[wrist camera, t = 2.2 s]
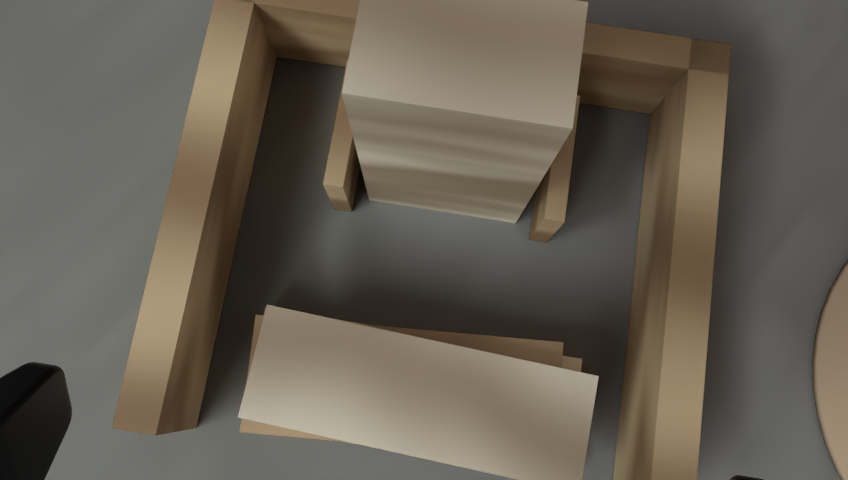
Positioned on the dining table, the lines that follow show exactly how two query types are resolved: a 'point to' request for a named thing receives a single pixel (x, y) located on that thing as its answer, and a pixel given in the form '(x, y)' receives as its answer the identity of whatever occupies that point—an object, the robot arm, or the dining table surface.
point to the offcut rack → (425, 349)
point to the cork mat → (833, 372)
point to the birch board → (462, 99)
